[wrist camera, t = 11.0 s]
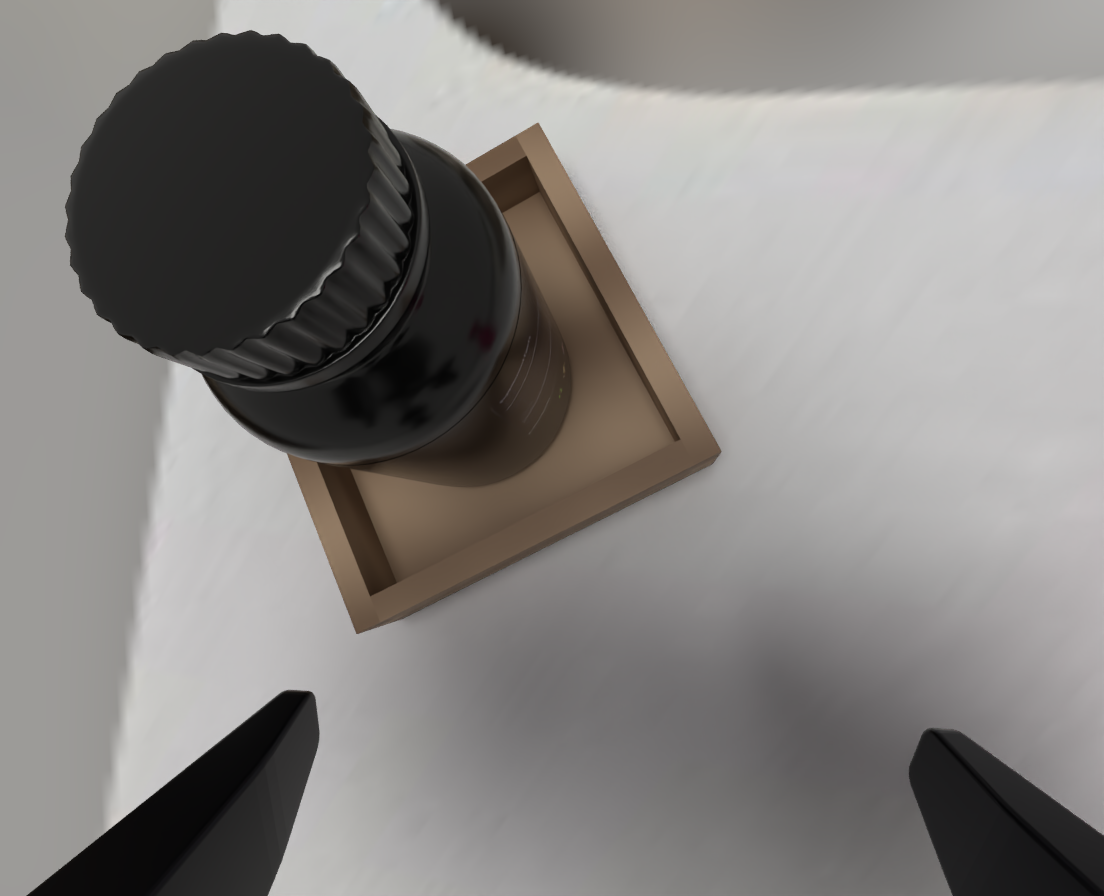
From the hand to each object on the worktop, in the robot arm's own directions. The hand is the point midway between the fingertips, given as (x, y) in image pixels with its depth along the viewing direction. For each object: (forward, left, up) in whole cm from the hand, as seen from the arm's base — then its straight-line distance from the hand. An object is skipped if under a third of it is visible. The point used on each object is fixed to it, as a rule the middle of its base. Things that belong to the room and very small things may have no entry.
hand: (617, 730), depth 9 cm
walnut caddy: (+9, +1, -10) cm, 14 cm away
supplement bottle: (+9, +1, -9) cm, 13 cm away
